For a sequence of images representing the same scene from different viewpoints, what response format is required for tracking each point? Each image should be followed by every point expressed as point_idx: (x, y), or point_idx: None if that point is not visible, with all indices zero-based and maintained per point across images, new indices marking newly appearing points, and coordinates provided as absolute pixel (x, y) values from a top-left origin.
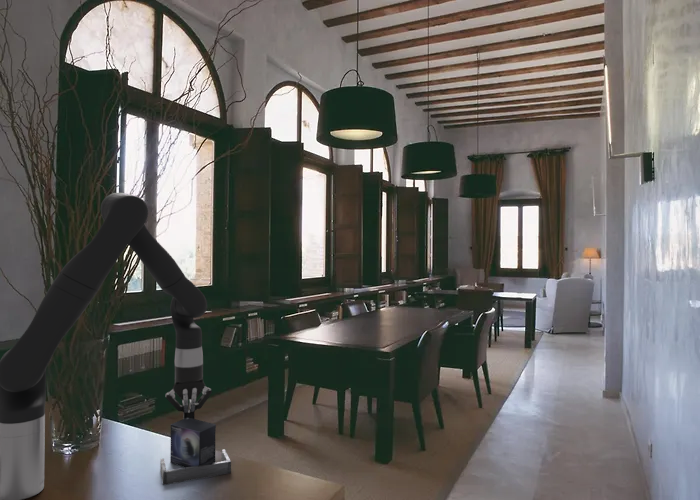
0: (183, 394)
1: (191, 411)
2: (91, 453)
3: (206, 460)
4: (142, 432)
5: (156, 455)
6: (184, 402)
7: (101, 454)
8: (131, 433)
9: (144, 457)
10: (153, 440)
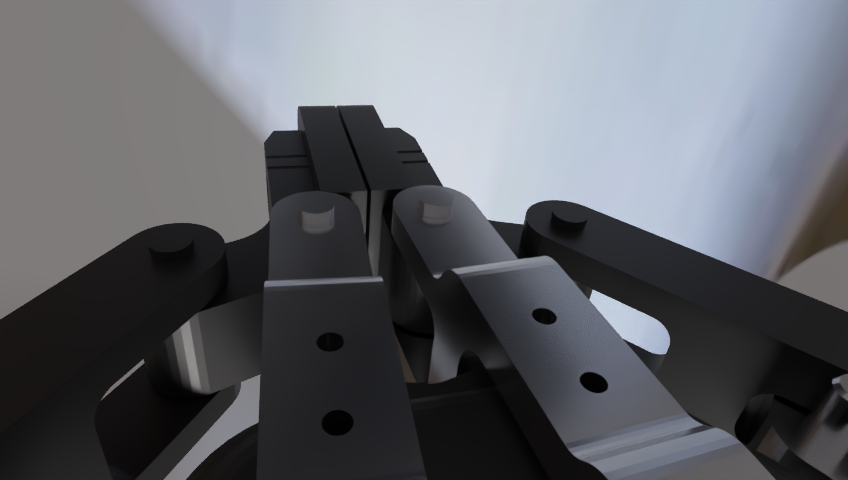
0: (719, 443)
1: (335, 196)
2: (843, 200)
3: None
4: None
5: (572, 7)
6: (553, 281)
7: (817, 168)
8: None
9: (654, 6)
10: None
